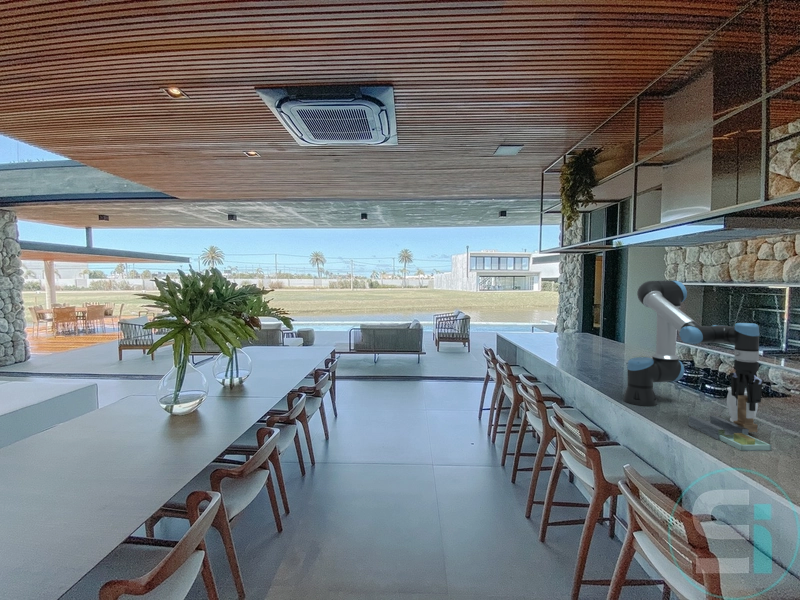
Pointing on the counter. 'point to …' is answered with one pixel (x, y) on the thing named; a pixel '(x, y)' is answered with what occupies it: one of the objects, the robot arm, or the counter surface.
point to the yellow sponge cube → (747, 440)
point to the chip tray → (757, 447)
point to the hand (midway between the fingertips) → (745, 416)
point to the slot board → (717, 427)
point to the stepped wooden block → (744, 415)
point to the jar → (733, 407)
